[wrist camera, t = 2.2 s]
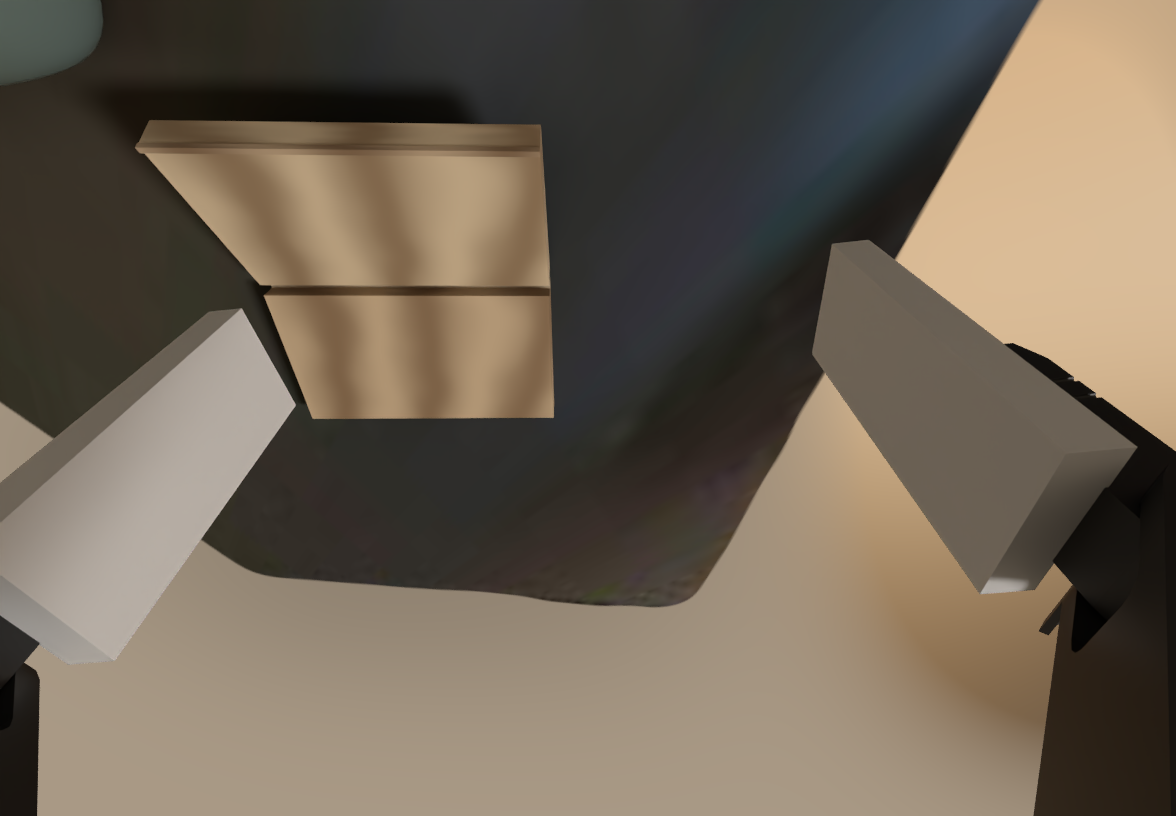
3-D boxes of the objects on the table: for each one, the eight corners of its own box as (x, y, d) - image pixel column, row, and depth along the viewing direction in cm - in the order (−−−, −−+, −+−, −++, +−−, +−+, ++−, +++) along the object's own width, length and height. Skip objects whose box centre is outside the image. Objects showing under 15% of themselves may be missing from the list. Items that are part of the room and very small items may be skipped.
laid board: (321, 405, 40) (312, 418, 39) (272, 275, 34) (260, 286, 32) (553, 404, 41) (553, 417, 39) (549, 276, 34) (549, 287, 33)
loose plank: (266, 264, 33) (259, 287, 32) (148, 118, 24) (135, 147, 23) (549, 265, 34) (549, 288, 33) (540, 123, 24) (539, 151, 24)
